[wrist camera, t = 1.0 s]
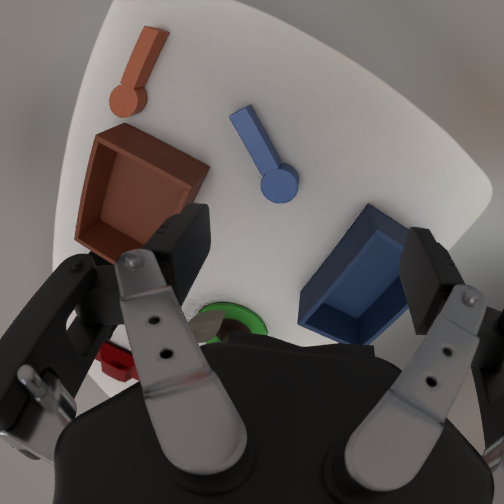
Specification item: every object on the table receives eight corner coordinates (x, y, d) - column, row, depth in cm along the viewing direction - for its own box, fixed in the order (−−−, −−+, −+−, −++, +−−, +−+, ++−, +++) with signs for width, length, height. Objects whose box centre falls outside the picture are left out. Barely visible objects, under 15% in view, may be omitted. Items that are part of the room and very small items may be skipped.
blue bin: (368, 202, 30) (377, 229, 26) (428, 243, 31) (443, 272, 27) (300, 292, 38) (297, 324, 34) (357, 319, 39) (360, 352, 35)
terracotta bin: (124, 122, 30) (95, 134, 25) (210, 166, 31) (192, 186, 27) (97, 218, 38) (74, 239, 33) (167, 258, 39) (149, 285, 35)
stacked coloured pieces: (285, 312, 41) (269, 411, 28) (256, 361, 48) (236, 444, 36) (201, 281, 40) (157, 373, 28) (186, 336, 48) (152, 415, 35)
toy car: (153, 360, 54) (144, 380, 50) (151, 373, 57) (142, 392, 53) (91, 329, 53) (79, 347, 49) (92, 344, 57) (81, 361, 52)
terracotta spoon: (148, 25, 23) (136, 23, 21) (177, 35, 24) (166, 33, 22) (115, 107, 29) (102, 111, 27) (140, 119, 29) (128, 123, 28)
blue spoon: (226, 116, 28) (219, 120, 26) (258, 100, 27) (254, 102, 25) (273, 200, 32) (270, 210, 30) (304, 188, 31) (304, 197, 29)
